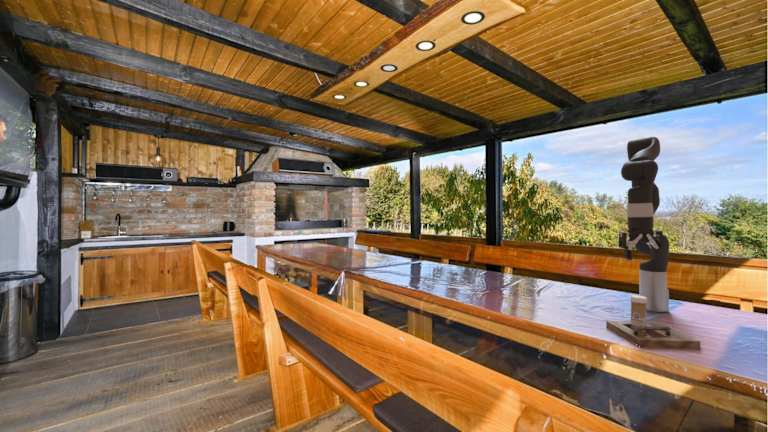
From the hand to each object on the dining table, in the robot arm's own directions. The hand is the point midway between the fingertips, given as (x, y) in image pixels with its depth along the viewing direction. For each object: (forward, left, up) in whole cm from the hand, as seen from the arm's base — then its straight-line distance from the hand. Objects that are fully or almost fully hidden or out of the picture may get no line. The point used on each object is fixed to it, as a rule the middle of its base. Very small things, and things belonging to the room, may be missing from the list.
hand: (641, 259), depth 120 cm
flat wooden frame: (+3, +8, -26) cm, 27 cm away
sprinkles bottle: (+4, +6, -26) cm, 27 cm away
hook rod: (+5, +12, -23) cm, 27 cm away
